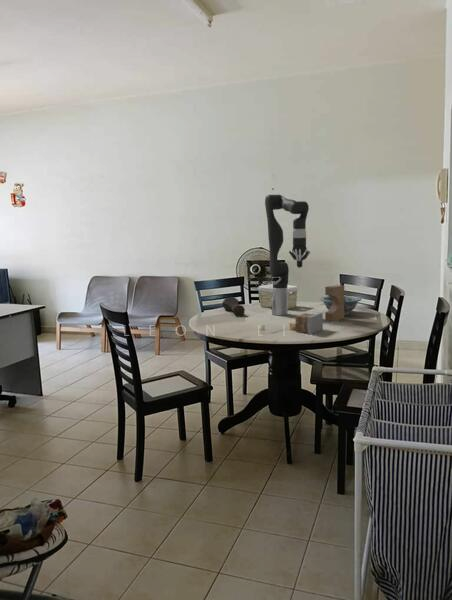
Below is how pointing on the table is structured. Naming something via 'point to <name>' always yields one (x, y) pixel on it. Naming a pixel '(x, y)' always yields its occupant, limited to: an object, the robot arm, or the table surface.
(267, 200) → the robot arm
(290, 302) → the storage basket
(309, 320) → the wall
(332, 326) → the table surface
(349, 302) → the bowl
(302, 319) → the socket block
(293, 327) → the tan wooden block
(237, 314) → the dark brown bone
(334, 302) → the decorative block
